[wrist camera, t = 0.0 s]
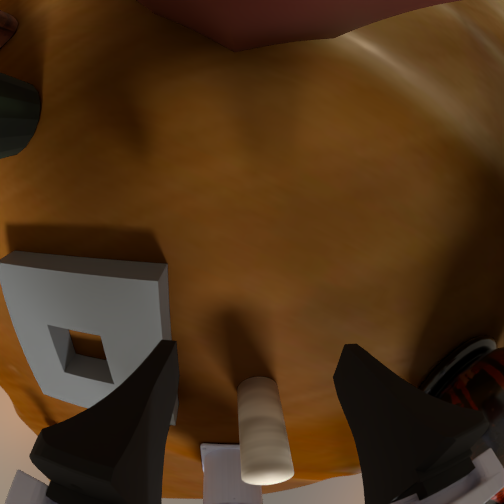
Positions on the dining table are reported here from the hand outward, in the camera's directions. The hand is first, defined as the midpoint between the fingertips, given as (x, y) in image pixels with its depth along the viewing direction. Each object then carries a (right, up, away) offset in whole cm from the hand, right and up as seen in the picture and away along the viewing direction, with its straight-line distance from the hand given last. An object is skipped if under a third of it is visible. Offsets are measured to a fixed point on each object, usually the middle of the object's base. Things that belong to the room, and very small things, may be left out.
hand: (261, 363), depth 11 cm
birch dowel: (0, -9, +14) cm, 17 cm away
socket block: (-15, -3, +11) cm, 19 cm away
